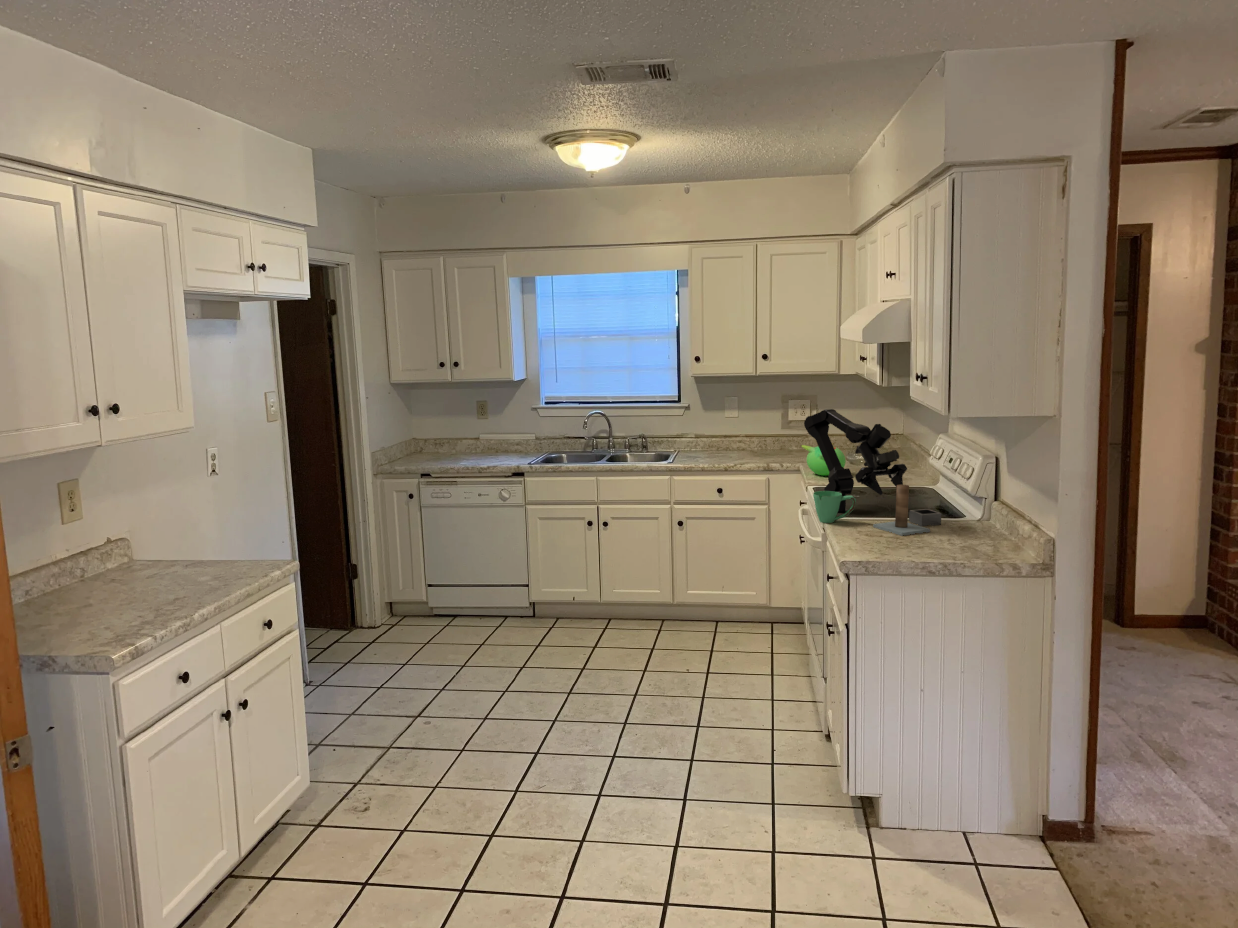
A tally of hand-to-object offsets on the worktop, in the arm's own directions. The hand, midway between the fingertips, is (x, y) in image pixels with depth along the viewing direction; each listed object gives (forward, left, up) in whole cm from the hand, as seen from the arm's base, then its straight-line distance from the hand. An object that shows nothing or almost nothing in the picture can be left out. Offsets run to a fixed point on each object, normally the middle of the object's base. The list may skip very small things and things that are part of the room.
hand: (892, 493), depth 300 cm
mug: (-12, -15, -12) cm, 23 cm away
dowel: (+5, +1, -11) cm, 12 cm away
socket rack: (-1, +14, -12) cm, 18 cm away
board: (+5, +1, -12) cm, 13 cm away
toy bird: (-97, +26, -12) cm, 101 cm away
